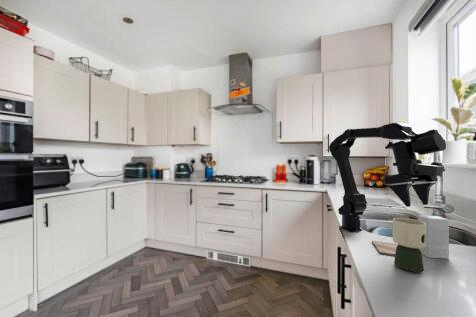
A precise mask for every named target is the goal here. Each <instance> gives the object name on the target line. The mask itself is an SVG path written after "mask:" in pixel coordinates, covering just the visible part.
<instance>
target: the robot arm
mask: <svg viewBox="0 0 476 317" xmlns="http://www.w3.org/2000/svg"><path fill="white" fill-rule="evenodd" d="M366 138H373V139H374V138H381V139H385V140H386V139H387V140H392V141H388V144H386V146H385V147H384V148H385V150H392V154H393V157H394V162H393V163H392V166H393V167H396V170H397V173H395V174H390V175H385V176H384V178H383V184H384V185H385V186H386V185H387V187H388V188H390V190H391V191H392V192H393V193H394V194H395V195H396V196H397V197H398V199H399V200H400V201H401V202H402V203H403V205H404V206H405V207H406V208H407V207H408V208H409V207H411V204H412V203H411V196H410V195H411V194H410V188H411V187H412V188H413V190H414V192H415V194H416V196H417V197H418V199H419V200H420V202H421V204H422V205H424V206H426V205H427V206H428V205H429V199H430V198H429V197H430V189H431V187H433V186H434V185H436V182H438V181H439V180H438V177H440V178H441V177H443V172H444V173H445V172H446V168H445V166H444V165H443V164H442V162H438V161H433V162H431V163H430V164H429V163H428V164H426V163H423V162H422V160H421V159H417V154H418V155H420V156H424V155H430V154H434V153H438V152H443V151H445V150H446V149H447V143H446V140H445V139H444V138H443V136H442V135H441V134H440V133H439V130H438V129H431V130H427V131H425V132H422V133H417V132H415V131H414V130H413V128H412V127H411V125H410V124H408V123H399V122H391V123H387V124H382V126H377V127H367V128H366V127H364V128H347V129H345V131H343V132H342V133H341V134H340V135H338V136H337V137H335V138H334V140H333V141H331V143H330V144H329V146H328V150H329V153H330V154H331V156H332V157H333V159H334V160H335V161H336V164H337V168H338V171H339V175H340V178H341V179H340V180H341V183H342V186H343V190H344V194H343V196H342V201H343V202H342V203H343V204H342V205H341V206H340V207H339V208H338V209H337V212H338V214H339V215H341V225H339V226H338V228H340V229H343V230H345V231H347V232H350V233H353V232H360V231H361V230H362V231H363V228H361V219H360V216H363V214H364V211H366V209H367V207H368V206H367V204H368V202H367V200H366V194H365V193H361V192H360V191H359V190H358V188H357V184H356V180H355V177H354V173H353V170H352V167H351V162H350V155H351V148H352V147H353V146H354V144H355V142H356V139H366ZM393 140H394V141H396V142H394V141H393ZM406 140H408V141H406Z"/></svg>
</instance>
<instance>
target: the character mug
mask: <svg viewBox="0 0 476 317" xmlns="http://www.w3.org/2000/svg"><path fill="white" fill-rule="evenodd" d="M392 242H394V244H398V245H397V248H396V253H395V256H394V265H395V266H397V267H399V268H401V269H404V270H407V271H408V272H414V273H423V272H425V267H424V260H423V254H421V251H420V248H425V247H426V223H424V222H422V221H419V220H418V219H413V218H409V217H393V218H392Z"/></svg>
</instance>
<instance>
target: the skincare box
mask: <svg viewBox="0 0 476 317" xmlns="http://www.w3.org/2000/svg"><path fill="white" fill-rule="evenodd" d="M417 220H419V221H422V222H424V223H426V247H425V248H420V251H421V254H422V256H424V257H425V258H433V259H449V258H450V239H449V238H450V235H449V232H450V229H449V228H450V227H449V225H450V224H449V221H450V220H449V219H448V218H445V217H442V216H439V215H417Z"/></svg>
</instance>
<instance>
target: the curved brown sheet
mask: <svg viewBox="0 0 476 317" xmlns="http://www.w3.org/2000/svg"><path fill="white" fill-rule="evenodd" d="M371 243H372V244H373V246H374V248H375V249H376V250H377V252H378V253H379V254H380V255H386V256H392V257H395V253H396V248H397V245H398V244H397V243H392V242H383V241H376V240H372V241H371Z"/></svg>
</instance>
